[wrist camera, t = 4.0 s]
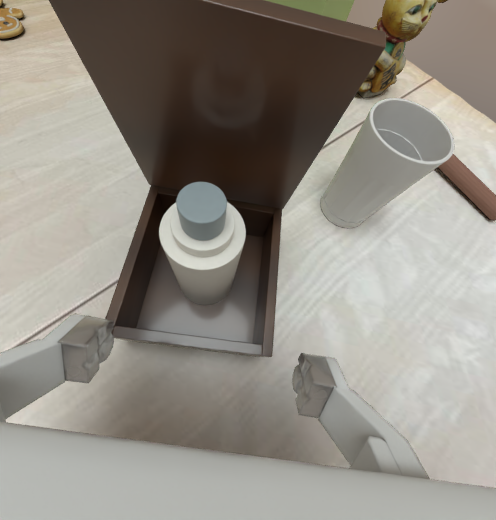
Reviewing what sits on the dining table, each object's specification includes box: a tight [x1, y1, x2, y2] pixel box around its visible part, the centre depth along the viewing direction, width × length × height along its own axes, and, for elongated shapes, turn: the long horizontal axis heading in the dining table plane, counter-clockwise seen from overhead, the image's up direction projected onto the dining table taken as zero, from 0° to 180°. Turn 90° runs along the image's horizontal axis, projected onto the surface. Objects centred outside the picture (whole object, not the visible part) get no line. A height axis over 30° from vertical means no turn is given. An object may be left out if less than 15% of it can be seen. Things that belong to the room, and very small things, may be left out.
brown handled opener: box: [438, 154, 496, 220], centre depth 36 cm, size 20×6×3 cm, turn 35°
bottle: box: [159, 182, 246, 305], centre depth 18 cm, size 5×5×14 cm
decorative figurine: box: [358, 0, 447, 98], centre depth 36 cm, size 10×8×15 cm
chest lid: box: [49, 0, 386, 209], centre depth 15 cm, size 14×13×1 cm
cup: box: [320, 98, 455, 228], centre depth 26 cm, size 8×8×12 cm
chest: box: [106, 185, 282, 357], centre depth 23 cm, size 14×13×6 cm
